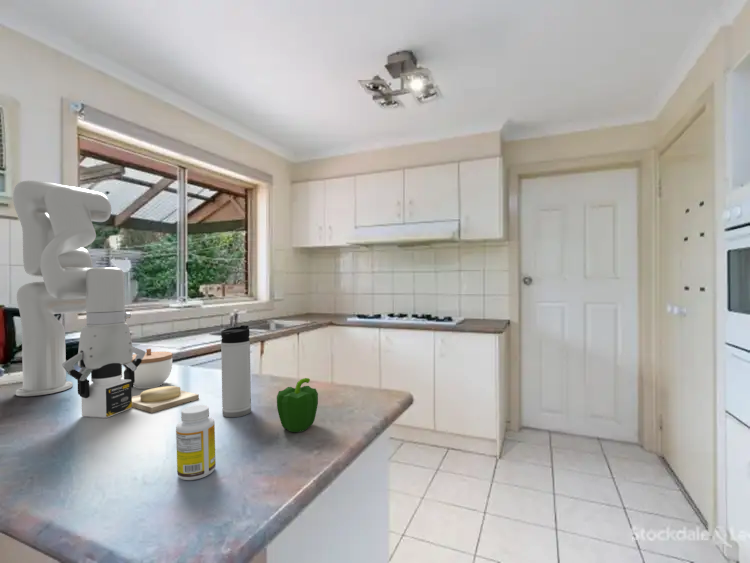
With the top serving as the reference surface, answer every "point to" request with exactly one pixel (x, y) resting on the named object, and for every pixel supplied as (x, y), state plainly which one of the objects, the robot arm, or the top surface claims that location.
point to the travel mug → (236, 371)
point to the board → (163, 403)
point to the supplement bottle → (195, 443)
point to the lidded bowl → (152, 369)
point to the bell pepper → (297, 406)
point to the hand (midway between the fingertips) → (107, 391)
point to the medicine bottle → (107, 392)
